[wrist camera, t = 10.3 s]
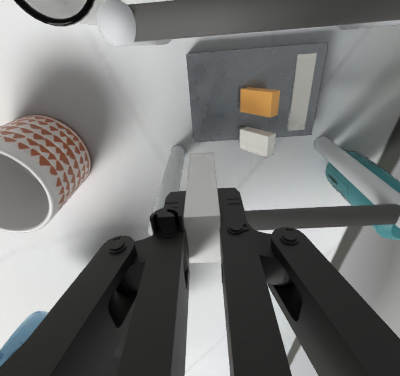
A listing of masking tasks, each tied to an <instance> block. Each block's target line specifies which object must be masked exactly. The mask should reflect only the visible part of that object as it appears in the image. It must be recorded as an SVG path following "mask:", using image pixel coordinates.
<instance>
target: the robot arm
mask: <svg viewBox="0 0 400 376" xmlns="http://www.w3.org/2000/svg"><path fill="white" fill-rule="evenodd" d="M150 222H151V227H152V231H153V235H152V236H150V237H148V238H146V239H143V240H139V241H136V242H134V240H133V239H132V238H131V237H128V236H118V237H114V238H112V239H110V240H108V241H107V242H106V243H105V244H104V245H103V246H102V247H101V248H100V250H99V251H98V252H97V253H96V255H95V256H94V257H93V258H92V260H91V261H90V262H89V263H88V265H87V266H86V267H85V268H84V270H83V271H82V272H81V273H80V274H79V276H78V277H77V278H76V279H75V281H74V282H73V283H72V284H71V286H70V287H69V288H68V289H67V291H66V292H65V293H64V294H63V296H62V297H61V298H60V299H59V300H58V302H57V303H56V304H55V305H54V307H53V308H52V309H51V310H50V312H49V313H48V312H45V311H37V312H35V313H33V314H31V315H30V316H29V317H28V318H26V320H25V321H24V322H23V323H22V324H21V325H20V326H19V327H18V328H17V330H16V331H15V332H14V333H13V335H12V336H11V337H10V338H9V340H8V341H7V342H6V343H5V345H4V346H3V347H2V349H1V350H0V376H184V375H185V355H186V335H187V315H188V295H189V275H190V273H189V263H211V262H221V269H222V283H223V294H224V306H225V318H226V330H227V342H228V353H229V365H230V376H292V375H291V371H290V367H289V364H288V360H287V356H286V353H285V349H284V345H283V341H282V338H281V334H280V330H279V327H278V323H277V319H276V316H275V312H274V308H273V304H272V301H271V297H270V293H269V290H268V287H269V288H270V290H271V292H272V294H273V296H274V297H275V299H276V301H277V303H278V304H279V306H280V308H281V310H282V312H283V313H284V315H285V317H286V319H287V320H288V322H289V324H290V326H291V328H292V329H293V331H294V333H295V335H296V336H297V338H298V340H299V342H300V344H301V345H302V347H303V349H304V351H305V352H306V354H307V356H308V358H309V360H310V361H311V363H312V365H313V367H314V368H315V370H316V372H317V374H318V376H400V339H399V337H397V335H396V334H395V333H394V332H393V331H392V330H391V329H390V328H389V327H388V325H387V324H386V323H385V322H384V321H383V320H382V319H381V318H380V317H379V316H378V315H377V314H376V312H375V311H374V310H373V309H372V308H371V307H370V306H369V305H368V304H367V303H366V301H365V300H364V299H363V298H362V297H361V296H360V295H359V294H358V293H357V292H356V291H355V289H354V288H353V287H352V286H351V285H350V284H349V283H348V282H347V281H346V280H345V278H344V277H343V276H342V275H341V274H340V273H339V272H338V271H337V270H336V269H335V268H334V266H333V265H332V264H331V263H330V262H329V261H328V260H327V259H326V258H325V257H324V256H323V254H322V253H321V252H320V251H319V250H318V249H317V248H316V247H315V246H314V245H313V244H312V242H311V241H310V240H309V239H308V238H307V237H306V236H305V235H304V234H303V233H302V232H300V231H299V230H296V229H294V228H289V227H280V228H278V229H275V230H274V231H273V233H272V234H267V233H262V232H259V231H256V230H254V229H253V228H252V227H251V226H250V224H249V223H248V222H247V219H246V215H245V211H244V207H243V204H242V200H241V196H240V192H239V191H238V190H237V189H235V188H219V189H217V183H216V173H215V164H214V155H213V153H202V154H190V160H189V170H188V179H187V189H186V191H177V192H170V193H169V194H168V195H167V197H166V199H165V204H164V207H163V208H161V209H159V210H156V211H155V212H154V213H152V214H151V216H150ZM267 284H268V286H267Z"/></svg>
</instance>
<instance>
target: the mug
mask: <svg viewBox="0 0 400 376" xmlns="http://www.w3.org/2000/svg"><path fill="white" fill-rule="evenodd" d="M14 1H15V2H16V4H17V5H19V6H20V7H21V8H22V9H23V10H24V11H25V12H26V13H28V14H29V15H31V16H32V17H34V18H35V19H37V20H39V21H41V22H43V23H46V24H50V25H54V26H65V27H66V26H70V25H74V24H76V23H80V24H87V25H97V12H98V9H99V7H100V6H101V4H102V3H103V2H105V1H107V0H14Z"/></svg>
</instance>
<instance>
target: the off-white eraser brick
mask: <svg viewBox="0 0 400 376" xmlns="http://www.w3.org/2000/svg"><path fill="white" fill-rule="evenodd" d="M275 136H276V133H271V132H267V131H263V130H259V129H255V128H251V127H245V128H244V127H239V147H240V149H243V150H246V151H249V152H252V153H254V154H257V155H260V156H263V157H266V158H267V157H269V156H271V155H273V154H274V146H275Z"/></svg>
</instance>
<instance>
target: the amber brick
mask: <svg viewBox="0 0 400 376" xmlns="http://www.w3.org/2000/svg"><path fill="white" fill-rule="evenodd" d="M279 97H280V90H273V89H263V88H253V87H247V88H245V87H242V88H240V112H244V113H249V114H254V115H259V116H264V117H269V118H270V117H273V116H276V115H278V106H279Z"/></svg>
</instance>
